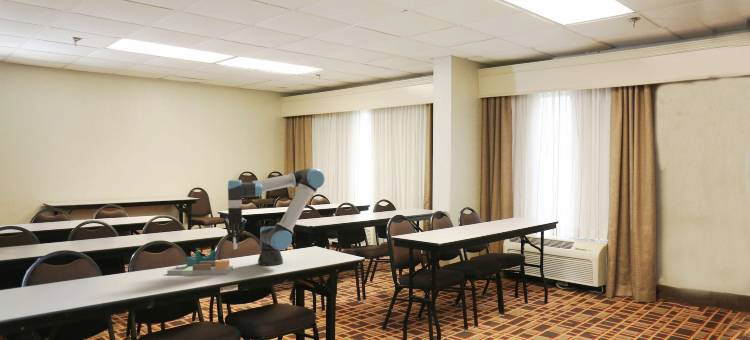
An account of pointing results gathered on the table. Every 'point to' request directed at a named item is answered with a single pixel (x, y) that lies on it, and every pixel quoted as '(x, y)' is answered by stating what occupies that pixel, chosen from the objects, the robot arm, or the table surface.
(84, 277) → the table surface
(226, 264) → the block
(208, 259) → the teal l-shaped bracket
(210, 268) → the deck
